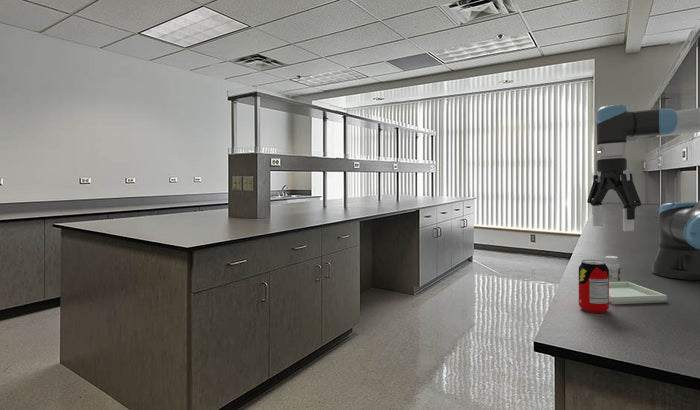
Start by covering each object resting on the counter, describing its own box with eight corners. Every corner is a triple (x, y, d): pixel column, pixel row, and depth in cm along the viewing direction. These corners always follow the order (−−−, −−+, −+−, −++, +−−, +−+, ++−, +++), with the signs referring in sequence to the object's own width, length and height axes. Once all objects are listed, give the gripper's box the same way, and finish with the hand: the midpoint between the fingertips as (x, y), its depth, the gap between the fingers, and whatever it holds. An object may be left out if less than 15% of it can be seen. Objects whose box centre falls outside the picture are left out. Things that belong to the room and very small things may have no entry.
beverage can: (606, 307, 99) (607, 259, 98) (610, 315, 93) (610, 264, 92) (577, 304, 102) (577, 258, 101) (579, 312, 96) (579, 263, 95)
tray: (627, 287, 115) (627, 281, 115) (666, 302, 101) (667, 295, 101) (579, 289, 115) (579, 283, 115) (612, 304, 101) (612, 297, 101)
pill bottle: (622, 283, 120) (623, 258, 119) (606, 283, 121) (606, 258, 120) (616, 280, 124) (616, 255, 124) (600, 279, 125) (600, 255, 124)
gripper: (574, 161, 132) (575, 224, 133) (629, 155, 107) (630, 233, 109) (597, 160, 132) (597, 223, 134) (656, 154, 108) (657, 232, 109)
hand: (612, 228), depth 121 cm, fingers open, 13 cm apart
